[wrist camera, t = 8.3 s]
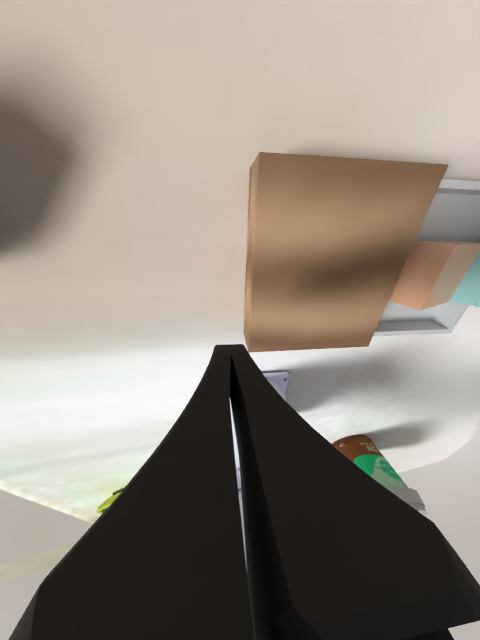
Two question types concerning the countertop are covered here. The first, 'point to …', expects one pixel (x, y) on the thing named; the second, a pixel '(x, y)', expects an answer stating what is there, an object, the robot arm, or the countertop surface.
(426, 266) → the terracotta tile
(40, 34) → the countertop surface
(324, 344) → the walnut board
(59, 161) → the countertop surface
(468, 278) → the teal tile
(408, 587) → the robot arm
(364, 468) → the food container
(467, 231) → the tray
